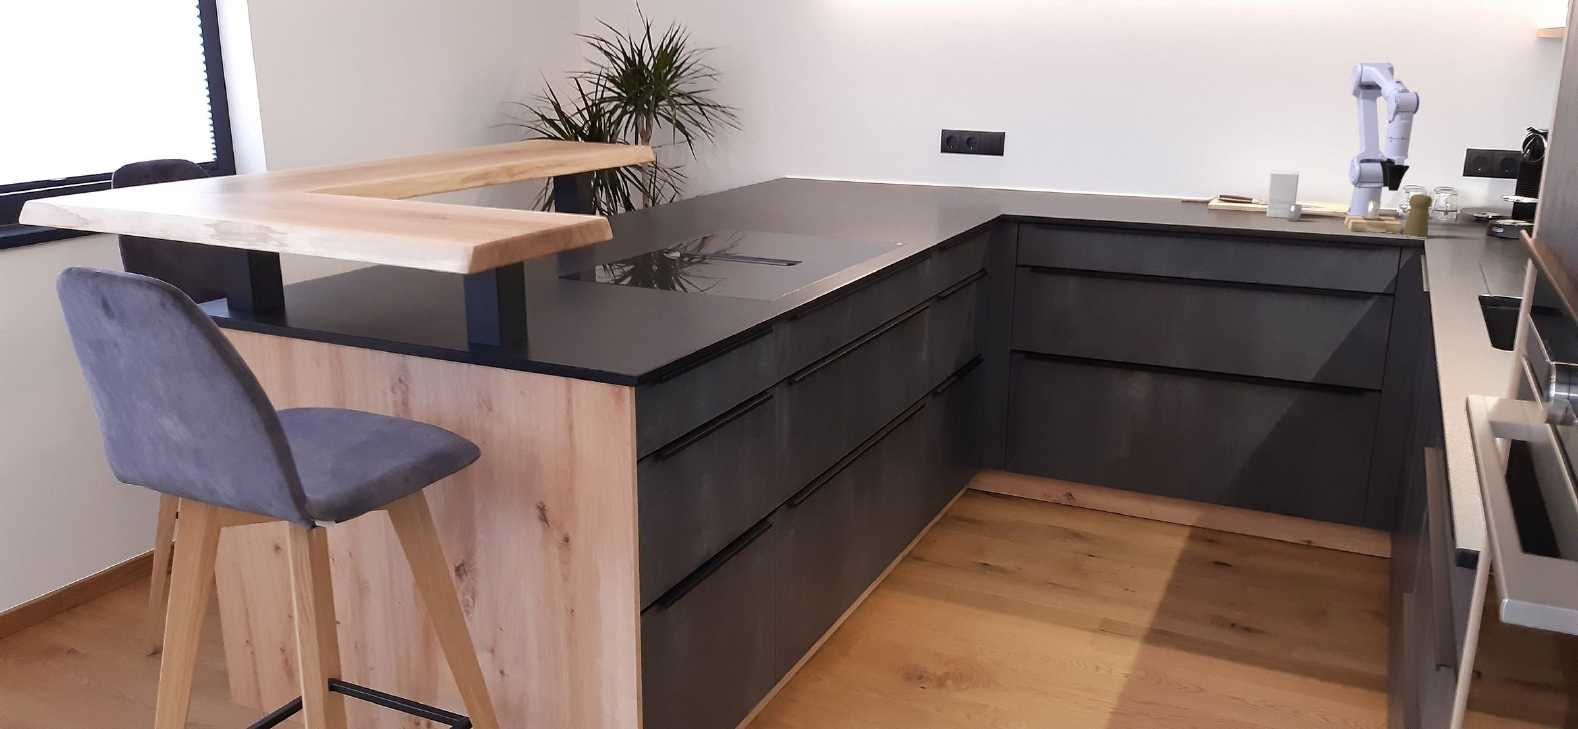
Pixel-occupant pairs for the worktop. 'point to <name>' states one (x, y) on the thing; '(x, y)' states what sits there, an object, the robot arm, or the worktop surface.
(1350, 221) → the oak frame
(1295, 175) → the supplement box
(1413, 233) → the cork
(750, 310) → the worktop surface
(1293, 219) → the short pin
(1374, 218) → the long pin
